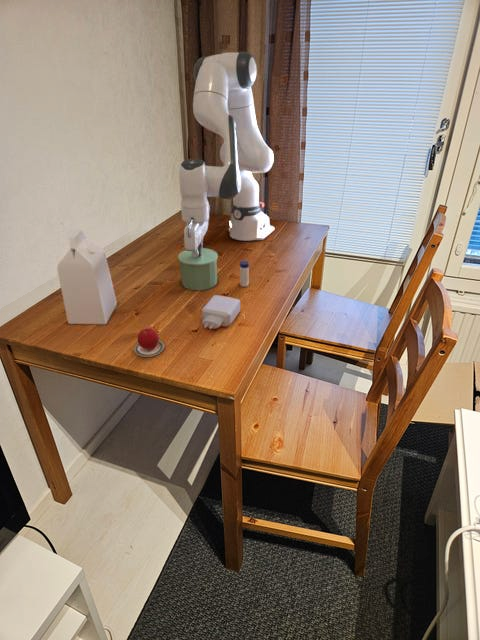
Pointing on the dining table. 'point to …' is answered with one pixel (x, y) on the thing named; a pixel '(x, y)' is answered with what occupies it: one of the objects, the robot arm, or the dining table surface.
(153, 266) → the dining table surface
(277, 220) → the dining table surface
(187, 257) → the tin lid
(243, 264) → the glue stick
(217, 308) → the charger
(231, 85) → the robot arm
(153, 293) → the dining table surface
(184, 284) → the tin
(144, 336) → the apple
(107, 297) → the milk
